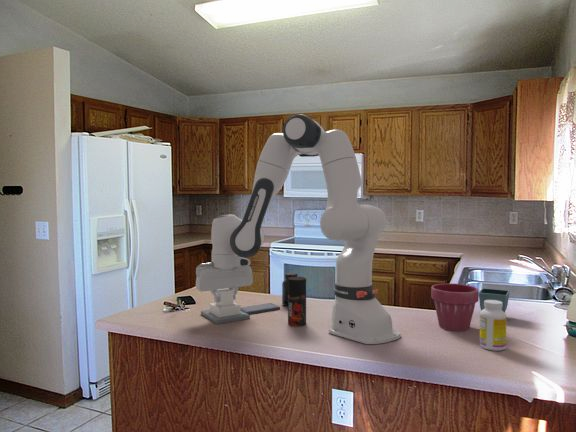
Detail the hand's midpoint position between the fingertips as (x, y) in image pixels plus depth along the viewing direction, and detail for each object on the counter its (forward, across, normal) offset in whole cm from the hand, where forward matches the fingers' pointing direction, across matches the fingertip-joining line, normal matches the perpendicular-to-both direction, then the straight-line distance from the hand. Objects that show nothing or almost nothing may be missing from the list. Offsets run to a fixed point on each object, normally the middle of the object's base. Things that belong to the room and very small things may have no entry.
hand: (225, 301), depth 158 cm
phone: (+5, +14, +1) cm, 15 cm away
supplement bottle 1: (+6, +28, +1) cm, 28 cm away
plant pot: (+6, +56, -51) cm, 76 cm away
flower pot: (+6, +77, -51) cm, 93 cm away
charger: (+3, 0, 0) cm, 3 cm away
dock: (+5, 0, 0) cm, 5 cm away
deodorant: (+6, +16, -21) cm, 27 cm away
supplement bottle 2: (+6, +49, -69) cm, 85 cm away
